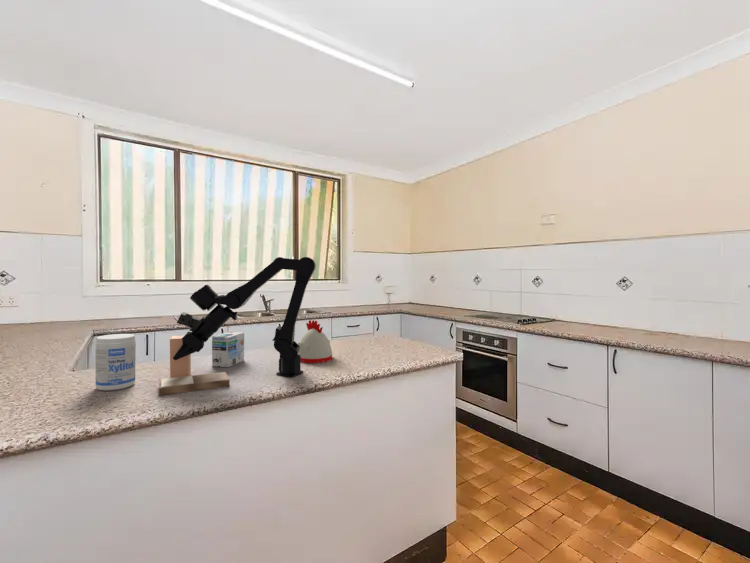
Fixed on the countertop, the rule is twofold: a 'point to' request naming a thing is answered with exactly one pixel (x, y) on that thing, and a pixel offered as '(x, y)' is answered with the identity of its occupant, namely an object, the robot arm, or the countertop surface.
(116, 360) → the supplement tub
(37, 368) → the countertop surface
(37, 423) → the countertop surface
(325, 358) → the kitchen timer
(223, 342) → the light bulb box
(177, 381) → the base board
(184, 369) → the pillar
